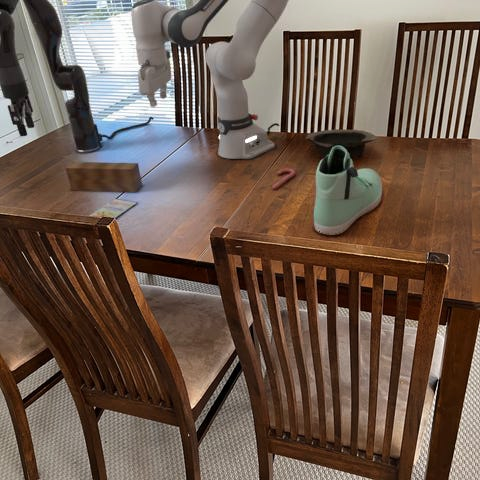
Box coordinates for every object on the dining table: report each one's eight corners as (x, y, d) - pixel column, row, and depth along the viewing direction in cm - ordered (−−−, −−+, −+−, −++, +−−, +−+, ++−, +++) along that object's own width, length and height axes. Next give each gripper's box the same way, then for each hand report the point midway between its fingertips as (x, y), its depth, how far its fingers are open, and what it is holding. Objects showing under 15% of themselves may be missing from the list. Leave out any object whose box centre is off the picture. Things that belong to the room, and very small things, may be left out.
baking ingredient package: (82, 218, 143) (114, 198, 155) (83, 220, 144) (114, 199, 155) (105, 223, 140) (136, 202, 151) (106, 224, 140) (136, 203, 151)
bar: (71, 190, 164) (65, 167, 159) (79, 183, 168) (73, 161, 164) (136, 192, 159) (131, 169, 154) (142, 185, 163) (138, 163, 159)
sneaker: (389, 187, 148) (396, 123, 138) (356, 242, 123) (361, 168, 112) (346, 181, 154) (350, 119, 144) (306, 232, 129) (307, 161, 118)
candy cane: (259, 187, 155) (259, 183, 155) (283, 170, 165) (283, 166, 165) (275, 190, 152) (275, 186, 151) (298, 173, 162) (298, 169, 162)
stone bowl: (333, 173, 159) (333, 147, 155) (293, 156, 179) (291, 132, 175) (391, 155, 168) (392, 129, 164) (346, 141, 188) (345, 118, 184)
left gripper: (17, 85, 142) (33, 137, 151) (30, 74, 154) (44, 123, 163) (-9, 87, 142) (9, 140, 150) (7, 76, 154) (22, 126, 162)
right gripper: (149, 64, 140) (157, 111, 147) (171, 51, 157) (177, 93, 164) (129, 65, 141) (137, 111, 148) (153, 51, 158) (160, 93, 165)
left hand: (27, 131), depth 157 cm, fingers open, 8 cm apart
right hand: (158, 102), depth 156 cm, fingers open, 8 cm apart
